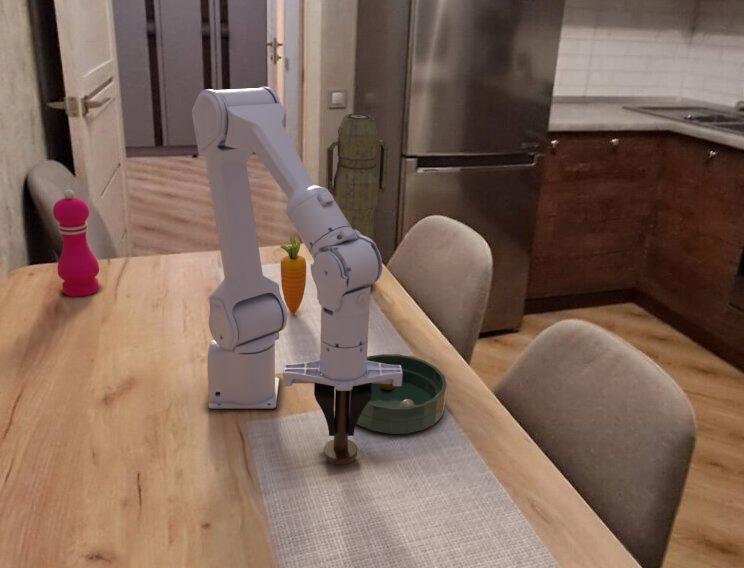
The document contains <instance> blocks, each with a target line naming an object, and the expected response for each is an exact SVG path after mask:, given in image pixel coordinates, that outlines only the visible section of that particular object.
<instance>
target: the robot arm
mask: <svg viewBox="0 0 744 568" xmlns="http://www.w3.org/2000/svg"><path fill="white" fill-rule="evenodd" d="M191 117H192V123H193V129H194V135H195V142H196V145H197V151H198V155H199V156H200V157H202V158H204V160H205V166H206V173H207V178H208V185H209V190H210V191H209V192H210V196H211V197H210V198H211V203H212V209H213V214H214V215H213V216H214V221H215V227H216V234H217V239H218V246H219V251H220V252H219V253H220V257H221V258H220V259H221V264H222V270H223V271H222V272H223V276H224V278H223V280H222V281H221V282H220V284H218V286H217V287H216V288H215V289H214V290H213V291H212V292H211V293H210V295H209V296H208V303H209V316H208V327H209V331H210V334H211V337H212V339H211V340H210V342H209V345H208V351H207V385H208V408H209V409H213V410H214V409H215V410H216V409H220V410H221V409H226V410H227V409H231V410H234V409H236V410H237V409H241V410H242V409H246V410H247V409H249V410H251V409H252V410H253V409H255V410H256V409H259V410H260V409H276V408H277V402H278V395H279V387H280V378H279V377H276V341H278V340H280V332H282V331H283V330H285V328H286V327H287V324H288V323H287V322H288V311H287V309H288V308H287V305H286V303H285V301H284V299H283V298H282V294H281V289H280V285H279V283H277V282H276V281H274V280H273V279H271V278H270V277H268V276H265V275H264V274H263V268H262V260H261V254H260V245H259V240H258V234H257V233H258V232H257V228H256V220H255V213H254V207H253V200H252V192H251V187H250V180H249V172H248V166H247V162H248V161H249V159H250V158H251V156H252V155H253V153H254V154H255V155H256V156H257V158H258V159H259V160H260V162H261V163H262V164H263V166H264V167H265V169H266V170H267V171H268V173H269V175H270V176H271V177H272V178H273V180H274V181H275V183H276V184H277V185H278V187H279V188H280V190H281V191H282V192H283V193H284V195H285V197H287V199H288V202H287V206H286V216H287V218H288V219H289V221H290V223H291V224H292V227H294V229H295V231H296V233H297V234H298V236H299V237H300V239H301V241H302V242H303V244H304V246H305V248H306V249H307V251H308V252H309V254H310V256H311V257H312V259H313V262H312V263H310V273H311V278H312V279H313V282H314V285H315V287H316V299H317V300H318V305H320V341H319V342H320V343H319V344H320V345H319V349H320V350H319V354H320V355H319V359H317V360H312V361H306V362H305V361H304V362H300V363H291V364H289V363H287V364H283V368H282V386H283V387H291V386H293V384H313V385H314V386H313V387H314V389H313V395H314V396H313V397H314V399H315V401H316V403H317V404H318V406H319V408H320V409H321V411H322V413H323V416H324V418H325V421H326V426H327V429H328V436H329V437H334V436H335V423H334V420H335V390H338V391H350V406H349V423H348V437H354V434H355V429H356V426H357V425H358V424H357V421H358V419H359V416H360V414H361V413H362V411H363V409H364V408H365V406H366V405H367V403H368V402H369V401H370V399H371V396H372V388H371V387H372V383H392V384H393V386H402V374H403V373H402V368H401V365H390V364H383V363H378V362H373V361H367V357H368V348H369V347H368V346H369V330H370V312H371V311H370V310H371V292H372V291H371V290H372V288H371V286H368V285H371V284H375V283H376V282H378V280H379V279H380V278H381V276H382V274H383V258H382V255H381V252H380V251H379V249H378V246H377V243H376V242H375V241H374V240H373V241H372V240H371V239H370V238H368V237H366V236H363V235H361V233H360V232H359V231H357V230H353V229H352V227H351V226H350V224H349V223H348V221H347V219H346V218H345V216H344V215H343V213H342V211H341V210H340V208H339V207H338V205H337V203H336V202H335V200H334V198H333V195H332V194H331V193H330V192H329V191H328V189H326V187H324V186H319V185H315V184H314V182H313V181H312V179H311V177H310V174H309V173H308V170H307V169H306V167H305V165H304V163H303V160H302V159H301V157H300V155H299V153H298V150H297V149H296V147H295V145H294V143H293V142H292V139H291V137H290V136H289V134H288V131H287V130H286V126H287V110H286V108H285V106H284V105H283V104H282V102H281V99H280V97H279V96H278V94H277V92H276V91H275V90H274V89H272V88H271V87H269V86H260V87H257V88H235V89H215V90H214V89H210V88H208V89H204V90H201V91H200V92H199V94H198V96H197V98H196V100H195V101H194V105H193V107H192V108H191Z"/></svg>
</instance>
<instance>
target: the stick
mask: <svg viewBox="0 0 744 568" xmlns="http://www.w3.org/2000/svg"><path fill="white" fill-rule="evenodd" d="M334 398H335V399H334V417H335V420H334V423H335V436H333V439H331V440H329V441H327V442H326V443H325V444H324V446H323V449H322V450H323V451H322V453H323V457H324V460H326V461H327V462H329V463H331V464H335V465H346V464H349V463H352V462H353V461H355V460H356V458H357V456H358V446H357V444H356V443H355V442H353V440H350V439H349V436H348V423H349V402H350V391H338V390H336V389H334Z"/></svg>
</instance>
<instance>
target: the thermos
mask: <svg viewBox="0 0 744 568" xmlns="http://www.w3.org/2000/svg"><path fill="white" fill-rule="evenodd" d="M378 134H379V133H378V128H377V125H376V121H375V118H374V117H372V116H371V115H368V114H363V113H349V114H346V115H344V116H342V118H341V121H340V124H339V126H338V130H337V138H336V139H334V140H331V141H330V143H329V144H328V145H327V146H326V159H325V160H326V161H325V162H326V163H325V164H326V165H325V188H326V189H328V191H329V192H330V193H331V195H332V197H333V198H334V200H335V202H336V203H337V205H338V207H339V208H340V210H341V211H342V213H343V215H344V216H345V218H346V219H347V221H348V223H349V224H350V226H351V227H352V229H353V230H357V231H359V232H360V233H361V235H363V236H366V237H368V238H370V239H371V240H372V241H374V229H375V227H374V225H375V210H376V208H377V206H378V197H379V196H380V194H382V193H385V190H386V184H387V166H388V149H389V148H388V146H387V145H386V142H384V141H383V140H382V139H378V137H379V135H378ZM336 147H337V154H336V155H337V157H338V158H337V159H338V160H337V163H336V170H335V172H334V150H335V148H336ZM378 148H380V160H379V177H378V173H377V164H376V159H377V154H378ZM333 174H334V175H333ZM373 284H374V283H372V284H371V285H368V286H371V289H372V288H373Z"/></svg>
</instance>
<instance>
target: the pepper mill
mask: <svg viewBox="0 0 744 568" xmlns="http://www.w3.org/2000/svg"><path fill="white" fill-rule="evenodd" d="M52 214H53V218H54V219H55V220H56V221H57V222H58V224H57V227H58V232H59V234H61V238H62V251H61V254H60V256H59V259H58V262H57V275H58V277H59V278H60V279H61V280H63V281H62V283H61V286H62V293H63V294H64V295H66V296H69V297H87V296H90V295H92V294H95V293H96V292H98V291H99V289H100V287H99V280H98V278H96V277H97V276H98V274H99V272H100V265H99V262H98V259H97V258H96V256H95V254H94V253H93V251H92V250H91V248H90V246H89V244H88V240H87V231H89V227H88V225H89V224H88V222H87V219H88V218H89V216H90V209H89V206H88V204H87V203H86V202H85V201H84V200H83V199H81V198H79V197H75V191H73V190H72V189H66V190H64V192H63V198H60V199H58V200H57V201H56V202H55V204H54V205H53V208H52Z"/></svg>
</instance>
